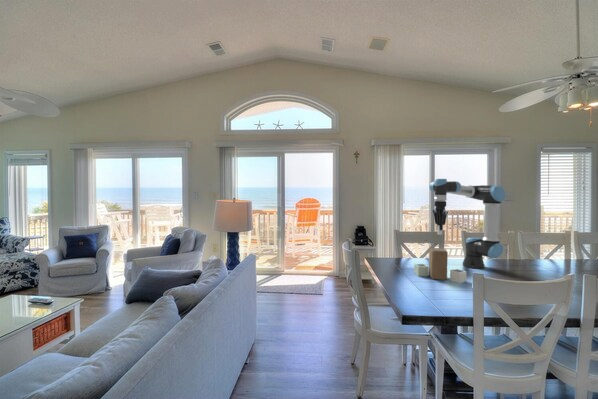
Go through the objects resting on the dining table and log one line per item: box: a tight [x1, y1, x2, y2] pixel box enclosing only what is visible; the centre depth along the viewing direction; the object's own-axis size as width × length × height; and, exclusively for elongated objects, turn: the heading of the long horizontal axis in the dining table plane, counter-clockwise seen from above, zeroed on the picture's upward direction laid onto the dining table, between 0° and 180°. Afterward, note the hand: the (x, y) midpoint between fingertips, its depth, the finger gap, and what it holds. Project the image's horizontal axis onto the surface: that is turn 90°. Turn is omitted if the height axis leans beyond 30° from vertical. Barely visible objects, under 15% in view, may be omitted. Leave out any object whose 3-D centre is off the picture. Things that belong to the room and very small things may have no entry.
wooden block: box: [428, 247, 449, 281], centre depth 215 cm, size 10×10×20 cm
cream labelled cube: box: [449, 268, 467, 284], centre depth 209 cm, size 7×7×7 cm
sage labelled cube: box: [413, 263, 429, 277], centre depth 223 cm, size 7×7×7 cm
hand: (439, 234), depth 215 cm, fingers closed
